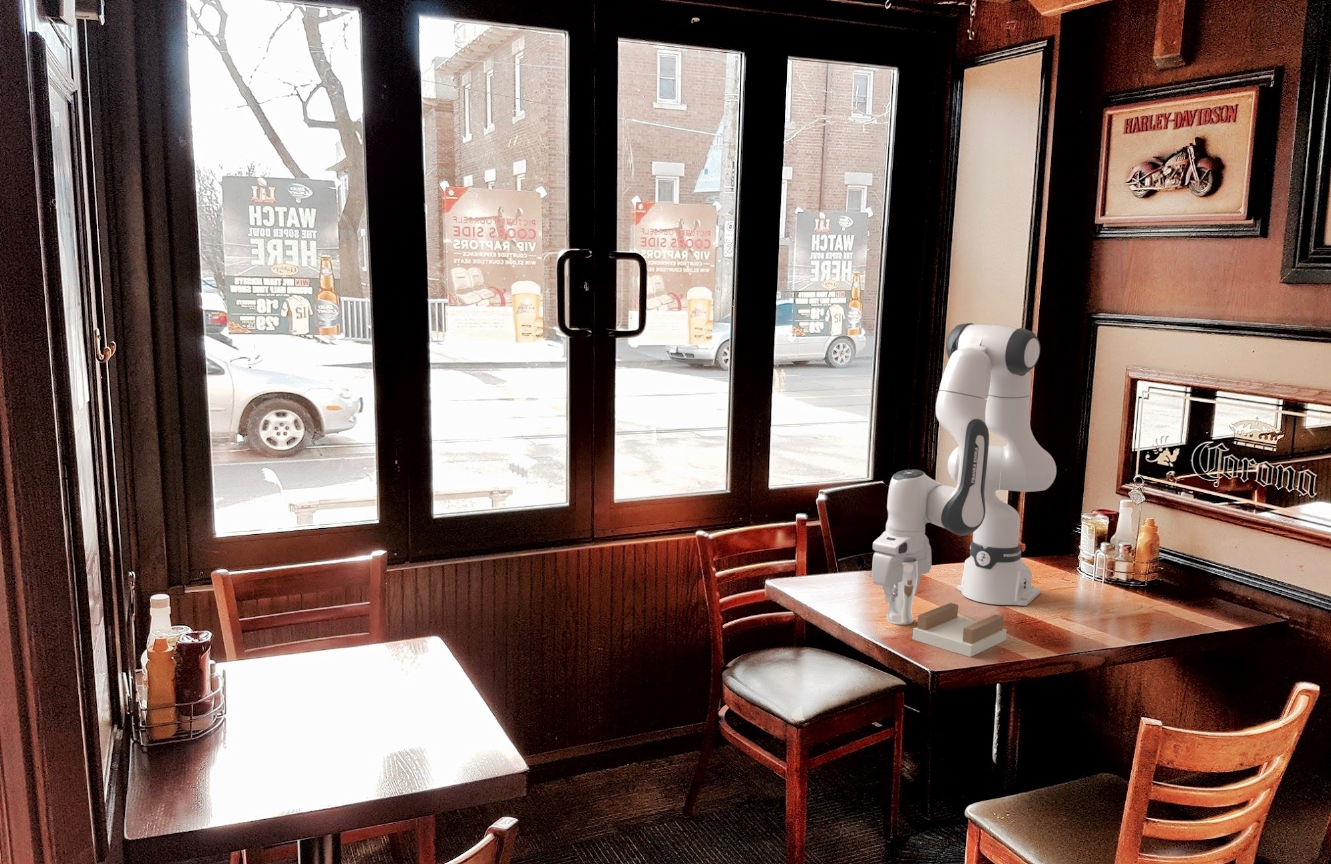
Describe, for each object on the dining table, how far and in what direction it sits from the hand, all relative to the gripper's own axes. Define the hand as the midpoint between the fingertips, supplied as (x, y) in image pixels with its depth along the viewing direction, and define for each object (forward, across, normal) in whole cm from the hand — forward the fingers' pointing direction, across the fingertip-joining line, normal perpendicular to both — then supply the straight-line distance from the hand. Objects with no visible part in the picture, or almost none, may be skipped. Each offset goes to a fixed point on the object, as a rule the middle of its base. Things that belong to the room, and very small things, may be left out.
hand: (901, 597), depth 231 cm
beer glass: (+6, 0, 0) cm, 6 cm away
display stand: (+6, +1, +16) cm, 17 cm away
